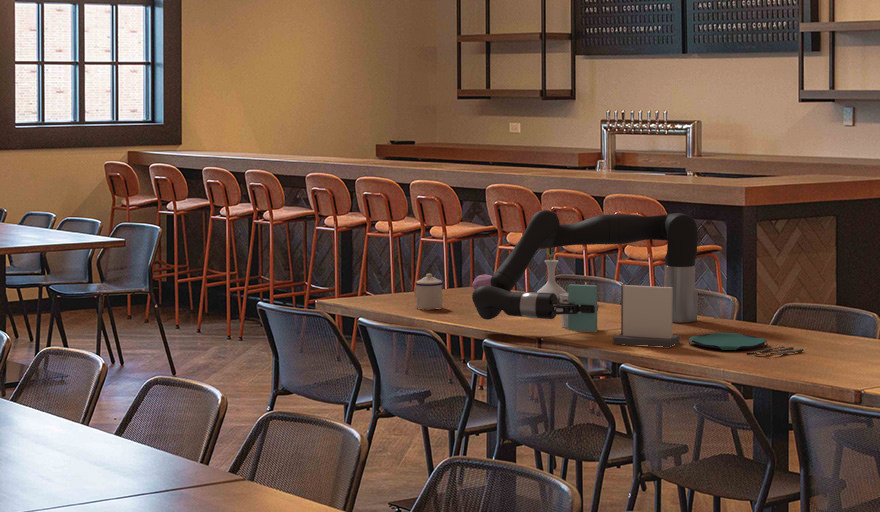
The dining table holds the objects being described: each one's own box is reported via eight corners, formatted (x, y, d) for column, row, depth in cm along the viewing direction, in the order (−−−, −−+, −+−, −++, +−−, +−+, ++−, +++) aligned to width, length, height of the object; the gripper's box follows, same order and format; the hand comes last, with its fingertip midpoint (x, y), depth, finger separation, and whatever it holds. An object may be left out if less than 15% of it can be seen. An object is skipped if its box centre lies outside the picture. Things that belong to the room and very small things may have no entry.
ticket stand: (679, 342, 347) (679, 285, 345) (669, 348, 338) (670, 290, 336) (624, 338, 353) (624, 283, 352) (613, 344, 345) (613, 287, 343)
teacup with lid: (448, 308, 416) (448, 273, 415) (427, 311, 410) (427, 276, 409) (425, 304, 425) (425, 270, 424) (405, 307, 419) (404, 273, 418)
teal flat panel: (597, 330, 353) (597, 285, 351) (594, 331, 351) (595, 286, 349) (570, 329, 356) (570, 284, 355) (568, 330, 354) (568, 285, 353)
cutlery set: (726, 337, 355) (726, 329, 355) (810, 354, 330) (810, 346, 330) (675, 345, 344) (675, 337, 344) (758, 364, 319) (758, 355, 319)
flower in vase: (569, 302, 427) (569, 229, 424) (536, 302, 427) (535, 230, 425) (566, 297, 440) (565, 226, 437) (533, 297, 440) (533, 227, 438)
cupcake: (482, 300, 433) (482, 272, 432) (503, 302, 428) (503, 273, 427) (467, 303, 426) (467, 274, 425) (489, 305, 421) (488, 276, 420)
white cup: (585, 329, 371) (585, 296, 370) (558, 328, 372) (558, 295, 371) (587, 325, 378) (587, 292, 377) (561, 324, 380) (561, 292, 379)
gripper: (529, 295, 352) (588, 298, 344) (547, 289, 364) (603, 292, 357) (530, 321, 353) (588, 325, 345) (547, 314, 365) (603, 318, 358)
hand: (595, 308), depth 351 cm, fingers closed on teal flat panel, 2 cm apart
